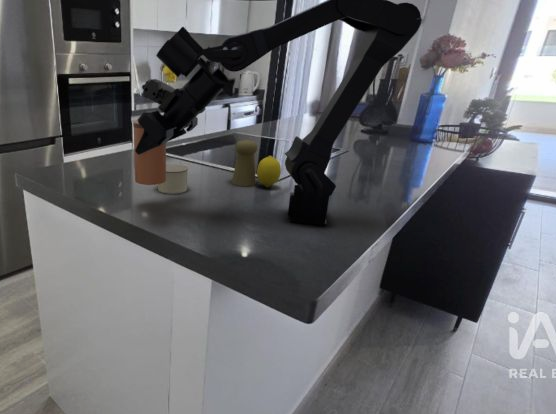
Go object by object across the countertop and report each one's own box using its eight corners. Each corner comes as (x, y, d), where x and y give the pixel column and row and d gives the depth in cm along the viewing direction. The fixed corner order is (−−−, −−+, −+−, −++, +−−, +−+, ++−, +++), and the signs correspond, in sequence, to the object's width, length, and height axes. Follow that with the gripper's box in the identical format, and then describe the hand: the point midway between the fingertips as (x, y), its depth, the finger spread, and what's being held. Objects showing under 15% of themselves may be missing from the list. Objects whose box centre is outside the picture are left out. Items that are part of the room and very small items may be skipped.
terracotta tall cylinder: (170, 177, 83) (170, 119, 79) (160, 186, 77) (160, 123, 73) (141, 175, 86) (140, 118, 81) (130, 183, 80) (127, 123, 75)
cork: (258, 186, 96) (262, 142, 92) (234, 186, 96) (237, 143, 93) (252, 179, 102) (256, 138, 98) (229, 179, 102) (232, 138, 98)
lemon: (255, 189, 94) (258, 157, 91) (256, 183, 99) (258, 152, 96) (279, 191, 92) (282, 158, 89) (278, 184, 97) (282, 153, 94)
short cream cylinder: (190, 186, 97) (191, 165, 95) (182, 195, 90) (183, 172, 89) (163, 183, 99) (163, 163, 97) (153, 192, 93) (153, 170, 91)
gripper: (184, 63, 80) (138, 115, 88) (146, 63, 64) (95, 127, 72) (220, 102, 79) (170, 151, 87) (190, 113, 63) (133, 171, 72)
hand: (144, 149), depth 80 cm, fingers closed on terracotta tall cylinder, 6 cm apart
